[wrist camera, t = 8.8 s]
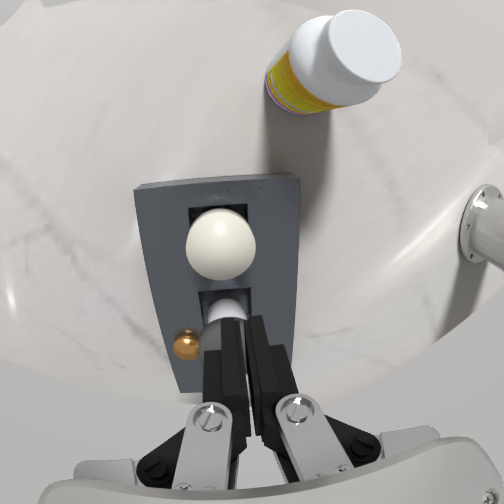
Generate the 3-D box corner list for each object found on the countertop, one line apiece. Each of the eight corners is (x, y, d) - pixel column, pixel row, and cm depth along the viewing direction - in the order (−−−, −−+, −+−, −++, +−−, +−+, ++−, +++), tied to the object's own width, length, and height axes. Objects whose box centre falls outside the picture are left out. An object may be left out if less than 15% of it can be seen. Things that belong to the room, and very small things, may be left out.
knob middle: (252, 288, 26) (263, 329, 20) (254, 332, 28) (263, 374, 22) (196, 293, 25) (193, 335, 20) (203, 336, 27) (203, 380, 22)
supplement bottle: (315, 127, 24) (396, 124, 12) (252, 96, 22) (288, 59, 10) (340, 72, 22) (425, 41, 10) (280, 40, 20) (333, -23, 8)
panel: (142, 184, 24) (130, 192, 20) (290, 173, 25) (303, 179, 22) (181, 376, 34) (180, 398, 30) (284, 366, 35) (291, 388, 32)
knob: (245, 196, 25) (254, 212, 20) (247, 248, 27) (256, 277, 22) (189, 200, 25) (181, 218, 19) (194, 252, 27) (190, 282, 21)
